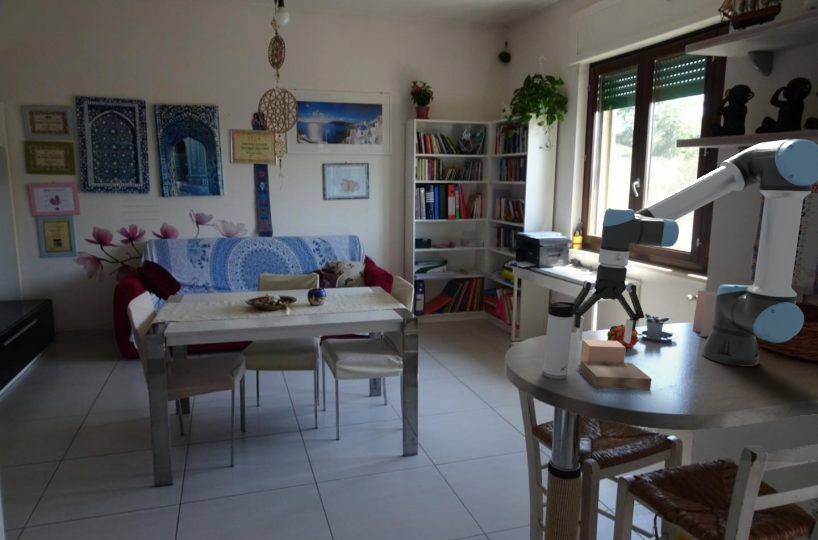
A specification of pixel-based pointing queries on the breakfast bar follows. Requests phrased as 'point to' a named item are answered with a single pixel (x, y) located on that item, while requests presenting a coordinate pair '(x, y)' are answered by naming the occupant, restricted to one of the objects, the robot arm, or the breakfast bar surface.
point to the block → (602, 351)
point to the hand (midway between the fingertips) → (602, 340)
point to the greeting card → (704, 312)
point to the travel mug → (558, 340)
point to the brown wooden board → (615, 375)
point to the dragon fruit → (622, 336)
